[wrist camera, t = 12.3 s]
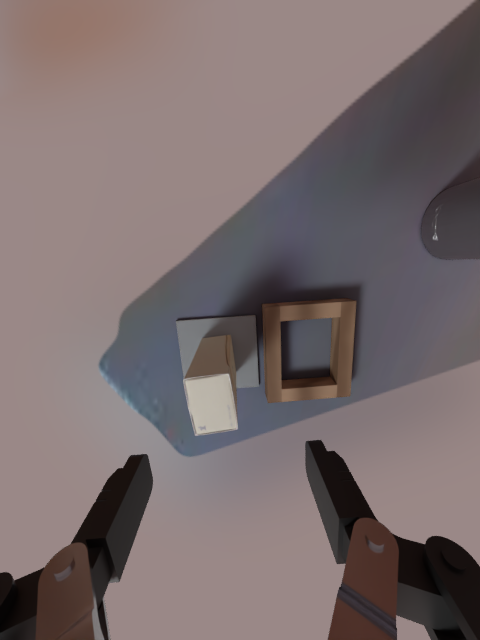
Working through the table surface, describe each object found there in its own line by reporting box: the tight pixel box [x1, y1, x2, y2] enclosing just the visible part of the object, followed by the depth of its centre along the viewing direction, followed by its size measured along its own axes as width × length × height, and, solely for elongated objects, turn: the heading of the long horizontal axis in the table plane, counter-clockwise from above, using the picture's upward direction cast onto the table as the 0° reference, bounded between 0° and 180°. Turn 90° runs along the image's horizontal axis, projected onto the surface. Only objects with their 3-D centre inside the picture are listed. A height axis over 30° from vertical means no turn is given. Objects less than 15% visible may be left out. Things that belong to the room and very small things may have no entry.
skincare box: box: [183, 335, 238, 436], centre depth 27 cm, size 6×4×12 cm
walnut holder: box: [262, 298, 356, 403], centre depth 32 cm, size 12×14×2 cm
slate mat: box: [176, 315, 259, 388], centre depth 33 cm, size 11×11×1 cm
